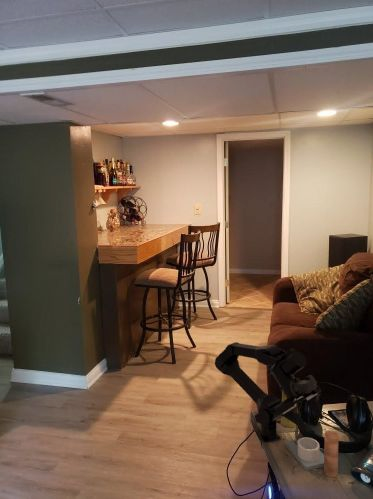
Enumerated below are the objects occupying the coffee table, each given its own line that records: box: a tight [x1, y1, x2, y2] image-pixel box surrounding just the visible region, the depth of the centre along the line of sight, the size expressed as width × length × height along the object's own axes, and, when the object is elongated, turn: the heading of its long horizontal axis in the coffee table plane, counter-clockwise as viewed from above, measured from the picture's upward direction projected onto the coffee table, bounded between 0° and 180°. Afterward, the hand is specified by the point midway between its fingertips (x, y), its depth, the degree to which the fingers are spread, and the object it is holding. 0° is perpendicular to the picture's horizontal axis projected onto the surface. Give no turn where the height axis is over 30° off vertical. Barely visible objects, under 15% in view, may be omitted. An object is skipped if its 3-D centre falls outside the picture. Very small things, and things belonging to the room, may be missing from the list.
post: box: [323, 430, 339, 478], centre depth 122 cm, size 4×4×13 cm
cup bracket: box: [284, 436, 324, 472], centre depth 131 cm, size 13×9×5 cm
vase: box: [280, 390, 297, 428], centre depth 149 cm, size 6×6×14 cm
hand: (313, 424), depth 126 cm, fingers open, 9 cm apart
